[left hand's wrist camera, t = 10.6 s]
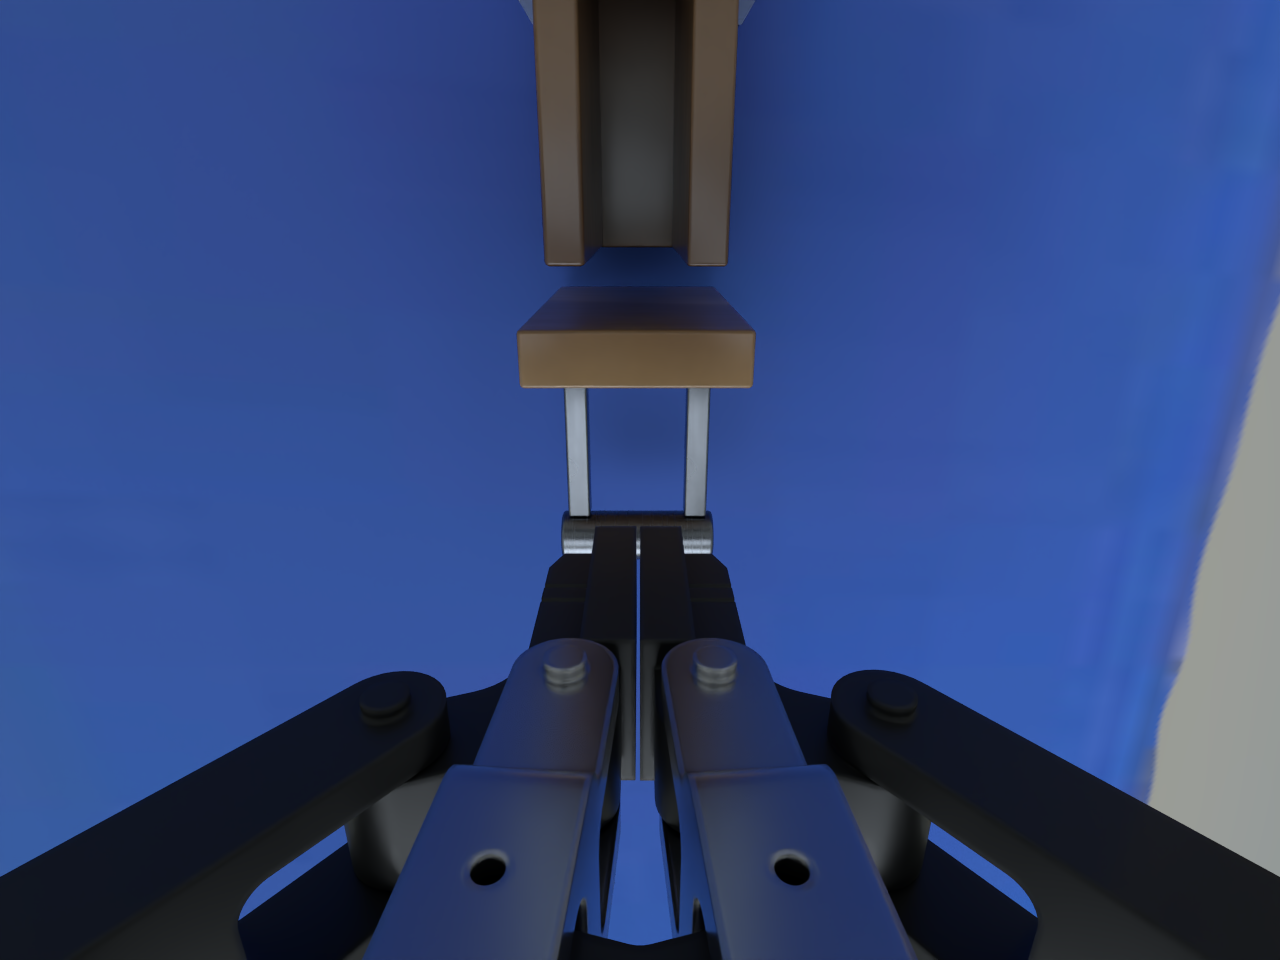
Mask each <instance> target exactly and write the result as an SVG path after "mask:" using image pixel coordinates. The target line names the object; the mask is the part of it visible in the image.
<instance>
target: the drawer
mask: <svg viewBox="0 0 1280 960" xmlns="http://www.w3.org/2000/svg"><path fill="white" fill-rule="evenodd" d="M532 9H533V30H534V51H535V72H536V93H537V115H538V136H539V157H540V178H541V199H542V220H543V241H544V261H545V264H546V265H548V266H582V265H584V264H585V263H586V262H587V261H588V260H589V259H590V258H591V257H592V256H593V255H594V254H595V253H596V252H597V251H598V250H599V249H600V248H601V247H673V248H674V249H675V250H676V251H677V253H678V254H679V255H680V256H681V257H682V259H683V260H684V261H685V262H686V263H687V265H689V266H726V265H727V264H728V248H729V225H730V202H731V179H732V156H733V132H734V109H735V86H736V63H737V40H738V17H739V0H532ZM755 341H756V333H755V330H754V329H753V328H752V327H751V326H750V325H749V324H748V323H747V322H746V321H745V320H744V319H743V318H742V317H741V316H740V314H739V313H738V312H737V311H736V310H735V309H734V308H733V307H732V306H731V305H730V304H729V303H728V302H727V301H726V299H725V298H724V297H723V296H722V295H721V294H720V293H719V292H718V291H717V290H716V289H715V288H714V287H561V288H560V289H559V290H558V291H557V292H556V293H555V294H554V295H553V296H552V297H551V298H550V299H549V300H548V301H547V302H546V303H545V304H544V305H543V306H542V307H541V308H540V309H539V310H538V311H537V312H536V313H535V314H534V315H533V316H532V317H531V318H530V319H529V320H528V321H527V322H526V323H525V324H524V325H523V326H522V327H521V328H520V329H519V330H518V331H517V349H518V364H519V380H520V386H521V387H522V388H564V405H565V430H566V454H567V479H568V504H569V511H565V512H564V514H563V517H562V527H561V546H562V555H564V554H565V553H592V547H593V540H594V533H595V527H596V526H636V557H637V559H640V526H681V530H682V538H683V546H684V553H711V554H712V553H713V519H712V514H711V512H710V511H706V495H707V468H708V441H709V414H710V388H750V387H752V385H753V375H754V358H755ZM588 388H686V410H685V452H684V494H683V510H684V511H591V508H592V503H591V466H590V430H589V394H588Z"/></svg>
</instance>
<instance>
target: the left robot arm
mask: <svg viewBox="0 0 1280 960" xmlns="http://www.w3.org/2000/svg"><path fill="white" fill-rule="evenodd" d="M636 644H637V557H636V526H596V527H595V533H594V540H593V547H592V553H565V554H564V555H563V556H562V557H561V558H559V559H558V560H557V561H556V562H555V563H554V564H553V565H552V566H551V567H550V568H549V571H548V575H547V579H546V583H545V588H544V591H543V595H542V602H541V603H540V607H539V611H538V615H537V619H536V623H535V626H534V630H533V634H532V638H531V642H530V646H529V649H528V650H526V651H525V652H524V653H522V654H521V655H520V656H519V657H518V658H517V660H516V661H515V663H514V664H513V666H512V669H511V671H510V674H509V676H508V678H507V679H505V680H504V681H502V682H500V683H498V684H496V685H494V686H491V687H488V688H486V689H482V690H479V691H475V692H471V693H466V694H461V695H457V696H452V697H448V698H446V692H445V690H444V687H443V686H442V685H441V683H440V682H439V681H437V680H436V679H435V678H433V677H431V676H429V675H426V674H423V673H419V672H412V671H399V672H390V673H384V674H380V675H376V676H373V677H370V678H367V679H365V680H362V681H360V682H358V683H356V684H354V685H352V686H350V687H349V688H347V689H345V690H343V691H341V692H339V693H337V694H336V695H334V696H332V697H330V698H328V699H326V700H325V701H323V702H321V703H319V704H317V705H315V706H314V707H312V708H310V709H308V710H306V711H304V712H303V713H301V714H299V715H297V716H295V717H293V718H292V719H290V720H288V721H286V722H284V723H282V724H280V725H279V726H277V727H275V728H273V729H271V730H269V731H268V732H266V733H264V734H262V735H260V736H258V737H257V738H255V739H253V740H251V741H249V742H247V743H246V744H244V745H242V746H240V747H238V748H236V749H235V750H233V751H231V752H229V753H227V754H225V755H224V756H222V757H220V758H218V759H216V760H214V761H212V762H211V763H209V764H207V765H205V766H203V767H201V768H200V769H198V770H196V771H194V772H192V773H190V774H189V775H187V776H185V777H183V778H181V779H179V780H178V781H176V782H174V783H172V784H170V785H168V786H167V787H165V788H163V789H161V790H159V791H157V792H155V793H154V794H152V795H150V796H148V797H146V798H144V799H143V800H141V801H139V802H137V803H135V804H133V805H132V806H130V807H128V808H126V809H124V810H122V811H121V812H119V813H117V814H115V815H113V816H111V817H110V818H108V819H106V820H104V821H102V822H100V823H99V824H97V825H95V826H93V827H91V828H89V829H87V830H86V831H84V832H82V833H80V834H78V835H76V836H75V837H73V838H71V839H69V840H67V841H65V842H64V843H62V844H60V845H58V846H56V847H54V848H53V849H51V850H49V851H47V852H45V853H43V854H42V855H40V856H38V857H36V858H34V859H32V860H30V861H29V862H27V863H25V864H23V865H21V866H19V867H18V868H16V869H14V870H12V871H10V872H8V873H7V874H5V875H3V876H1V877H0V960H1280V877H1279V876H1277V875H1275V874H1273V873H1272V872H1270V871H1268V870H1266V869H1264V868H1262V867H1261V866H1259V865H1257V864H1255V863H1253V862H1251V861H1249V860H1248V859H1246V858H1244V857H1242V856H1240V855H1238V854H1237V853H1235V852H1233V851H1231V850H1229V849H1227V848H1226V847H1224V846H1222V845H1220V844H1218V843H1216V842H1214V841H1213V840H1211V839H1209V838H1207V837H1205V836H1204V835H1202V834H1200V833H1198V832H1196V831H1194V830H1192V829H1191V828H1189V827H1187V826H1185V825H1183V824H1181V823H1180V822H1178V821H1176V820H1174V819H1172V818H1170V817H1168V816H1167V815H1165V814H1163V813H1161V812H1159V811H1158V810H1156V809H1154V808H1152V807H1150V806H1148V805H1147V804H1145V803H1143V802H1141V801H1139V800H1137V799H1136V798H1134V797H1132V796H1130V795H1128V794H1126V793H1124V792H1123V791H1121V790H1119V789H1117V788H1115V787H1113V786H1112V785H1110V784H1108V783H1106V782H1104V781H1102V780H1101V779H1099V778H1097V777H1095V776H1093V775H1091V774H1090V773H1088V772H1086V771H1084V770H1082V769H1080V768H1079V767H1077V766H1075V765H1073V764H1071V763H1069V762H1067V761H1066V760H1064V759H1062V758H1060V757H1058V756H1056V755H1055V754H1053V753H1051V752H1049V751H1047V750H1045V749H1044V748H1042V747H1040V746H1038V745H1036V744H1034V743H1033V742H1031V741H1029V740H1027V739H1025V738H1023V737H1022V736H1020V735H1018V734H1016V733H1014V732H1012V731H1011V730H1009V729H1007V728H1005V727H1003V726H1001V725H999V724H998V723H996V722H994V721H992V720H990V719H988V718H987V717H985V716H983V715H981V714H979V713H977V712H976V711H974V710H972V709H970V708H968V707H966V706H965V705H963V704H961V703H959V702H957V701H955V700H954V699H952V698H950V697H948V696H946V695H944V694H943V693H941V692H939V691H937V690H935V689H933V688H931V687H930V686H928V685H926V684H924V683H922V682H920V681H918V680H916V679H914V678H911V677H909V676H906V675H903V674H899V673H895V672H890V671H884V670H863V671H856V672H853V673H850V674H848V675H846V676H844V677H842V678H841V679H839V680H838V681H837V682H836V684H835V685H834V687H833V689H832V693H831V698H826V697H822V696H817V695H812V694H808V693H803V692H799V691H795V690H792V689H789V688H786V687H783V686H781V685H779V684H777V683H775V682H774V681H773V679H772V676H771V674H770V671H769V669H768V666H767V664H766V663H765V661H764V660H763V658H762V657H761V656H760V655H759V654H758V653H756V652H755V651H754V650H752V649H751V648H749V647H747V646H746V645H745V640H744V636H743V632H742V628H741V624H740V620H739V616H738V612H737V607H736V603H735V602H734V595H733V591H732V588H731V583H730V579H729V574H728V570H727V568H726V567H725V566H724V565H723V564H722V563H721V562H720V561H719V560H718V559H717V558H716V557H715V556H714V555H712V554H711V553H684V546H683V538H682V530H681V526H640V780H654V784H655V803H656V807H657V810H658V812H659V814H660V822H659V827H660V840H661V848H662V856H663V864H664V872H665V880H666V889H667V897H668V905H669V913H670V921H671V930H672V938H673V939H669V940H665V941H662V942H658V943H654V944H650V945H630V944H626V943H622V942H618V941H615V940H611V939H607V938H608V930H609V921H610V913H611V905H612V897H613V889H614V880H615V872H616V864H617V856H618V848H619V840H620V827H621V823H620V790H621V780H635V767H636ZM931 822H933V823H934V824H936V825H937V826H938V827H940V828H941V829H943V830H944V831H946V832H947V833H948V834H950V835H951V836H953V837H954V838H956V839H957V840H959V841H960V842H961V843H963V844H964V845H966V846H967V847H969V848H970V849H971V850H973V851H974V852H976V853H977V854H979V855H980V856H981V857H983V858H984V859H986V860H987V861H989V862H990V863H992V864H993V865H994V866H996V867H997V868H999V869H1000V870H1002V871H1003V872H1004V873H1006V874H1007V875H1009V876H1010V877H1011V878H1012V879H1014V880H1015V881H1016V882H1017V883H1018V884H1019V885H1020V886H1021V887H1022V889H1023V890H1024V891H1025V892H1026V894H1027V895H1028V896H1029V898H1030V900H1031V901H1032V903H1033V905H1034V908H1035V910H1036V913H1037V917H1038V918H1037V917H1035V916H1034V915H1033V914H1031V913H1030V912H1028V911H1027V910H1026V909H1024V908H1023V907H1021V906H1020V905H1019V904H1017V903H1016V902H1015V901H1013V900H1012V899H1010V898H1009V897H1008V896H1006V895H1005V894H1003V893H1002V892H1001V891H999V890H998V889H996V888H995V887H994V886H992V885H991V884H989V883H988V882H987V881H985V880H984V879H983V878H981V877H980V876H978V875H977V874H976V873H974V872H973V871H971V870H970V869H969V868H967V867H966V866H964V865H963V864H962V863H960V862H959V861H958V860H956V859H955V858H953V857H952V856H951V855H949V854H948V853H946V852H945V851H944V850H942V849H941V848H939V847H938V846H937V845H935V844H934V843H932V842H931V841H930V840H928V835H929V830H930V825H931ZM343 825H344V826H345V831H346V836H347V841H348V842H347V843H346V844H345V845H343V846H342V847H341V848H339V849H338V850H336V851H335V852H334V853H332V854H331V855H329V856H328V857H327V858H325V859H324V860H322V861H321V862H320V863H318V864H317V865H316V866H314V867H313V868H311V869H310V870H309V871H307V872H306V873H304V874H303V875H302V876H300V877H299V878H297V879H296V880H295V881H293V882H292V883H290V884H289V885H288V886H286V887H285V888H284V889H282V890H281V891H279V892H278V893H277V894H275V895H274V896H272V897H271V898H270V899H268V900H267V901H265V902H264V903H263V904H261V905H260V906H259V907H257V908H256V909H254V910H253V911H252V912H250V913H249V914H247V915H246V916H245V917H243V918H242V919H240V920H239V921H238V919H239V915H240V912H241V910H242V908H243V906H244V904H245V902H246V901H247V899H248V898H249V896H250V895H251V894H252V892H253V891H254V890H255V889H256V888H257V887H258V886H259V885H260V884H261V883H262V882H263V881H265V880H266V879H267V878H268V877H270V876H271V875H273V874H274V873H276V872H277V871H278V870H280V869H281V868H283V867H284V866H286V865H287V864H288V863H290V862H291V861H293V860H294V859H296V858H297V857H298V856H300V855H301V854H303V853H304V852H306V851H307V850H309V849H310V848H311V847H313V846H314V845H316V844H317V843H319V842H320V841H321V840H323V839H324V838H326V837H327V836H329V835H330V834H331V833H333V832H334V831H336V830H337V829H339V828H340V827H342V826H343Z"/></svg>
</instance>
